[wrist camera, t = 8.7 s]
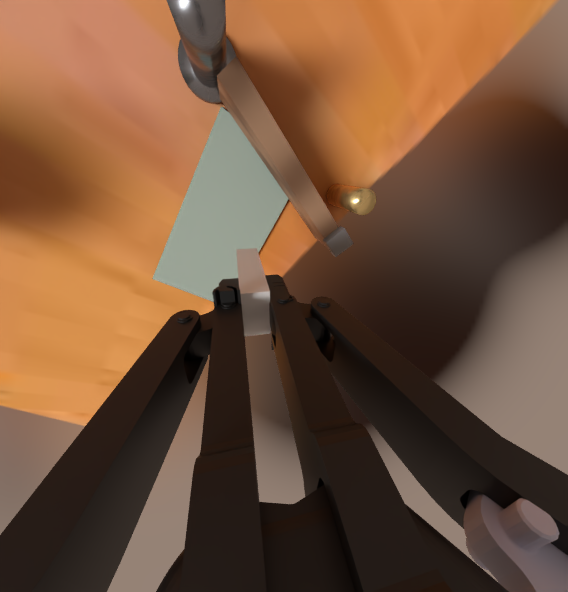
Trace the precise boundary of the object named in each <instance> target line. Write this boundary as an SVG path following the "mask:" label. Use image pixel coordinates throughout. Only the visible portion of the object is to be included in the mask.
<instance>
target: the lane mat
mask: <svg viewBox="0 0 568 592" xmlns="http://www.w3.org/2000/svg"><path fill="white" fill-rule="evenodd" d="M287 201H288V197H287V196H286V194H285V193H284V192H283V190H282V189H281V187H280V186H279V184H278V183H277V181H276V180H275V178H274V177H273V175H272V174H271V173H270V171H269V170H268V168H267V167H266V165H265V164H264V162H263V161H262V159H261V158H260V157H259V155H258V154H257V152H256V151H255V149H254V148H253V146H252V145H251V143H250V142H249V140H248V139H247V138H246V136H245V135H244V133H243V132H242V130H241V129H240V127H239V126H238V124H237V123H236V121H235V120H234V119H233V117H232V116H231V114H230V113H229V112H228V111H226V110H225V109H224V108H222V107H221V108H220V111H219V113H218V116H217V118H216V121H215V123H214V126H213V128H212V131H211V133H210V136H209V138H208V141H207V143H206V146H205V148H204V151H203V153H202V156H201V158H200V161H199V163H198V166H197V168H196V171H195V173H194V176H193V178H192V181H191V183H190V186H189V188H188V191H187V193H186V196H185V199H184V201H183V204H182V206H181V209H180V211H179V214H178V216H177V219H176V221H175V224H174V226H173V229H172V231H171V234H170V236H169V239H168V241H167V244H166V246H165V249H164V251H163V254H162V256H161V259H160V261H159V264H158V266H157V269H156V271H155V274H154V276H153V279H154V280H157V281H159V282H162V283H165V284H167V285H170V286H173V287H175V288H178V289H181V290H183V291H186V292H189V293H191V294H194V295H197V296H199V297H202V298H205V299H207V300H210V301H212V302H214V300H213V294H212V292H213V290H214V289H215V288H216V287H219V283H220V282H221V280H222V279H232V278H238V266H237V253H236V249H253V248H257V251H258V253H259V251H260V249H261V247H262V246H263V244H264V242H265V240H266V238H267V237H268V235H269V233H270V231H271V229H272V228H273V226H274V224H275V222H276V221H277V219H278V217H279V215H280V213H281V212H282V210H283V208H284V206H285V204H286V203H287Z"/></svg>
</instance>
